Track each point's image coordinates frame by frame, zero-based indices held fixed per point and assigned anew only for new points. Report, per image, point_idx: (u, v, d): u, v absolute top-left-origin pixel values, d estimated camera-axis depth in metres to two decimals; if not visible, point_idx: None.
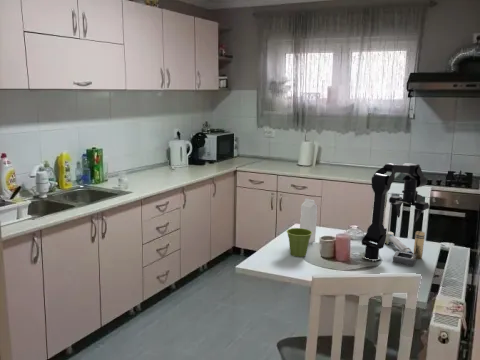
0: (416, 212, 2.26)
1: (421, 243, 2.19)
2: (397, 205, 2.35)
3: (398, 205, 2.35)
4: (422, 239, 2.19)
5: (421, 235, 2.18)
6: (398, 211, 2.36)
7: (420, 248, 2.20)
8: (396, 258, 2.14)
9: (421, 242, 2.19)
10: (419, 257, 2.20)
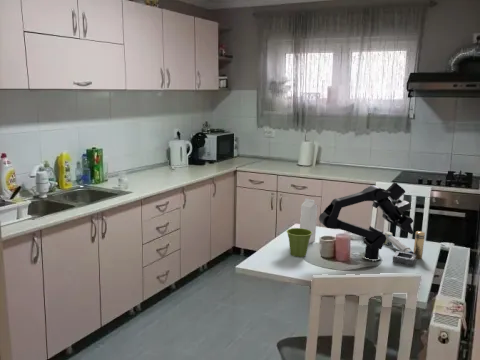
0: None
1: (421, 243, 2.19)
2: None
3: None
4: (422, 239, 2.19)
5: (421, 235, 2.18)
6: None
7: (420, 248, 2.20)
8: (396, 258, 2.14)
9: (421, 242, 2.19)
10: (419, 257, 2.20)
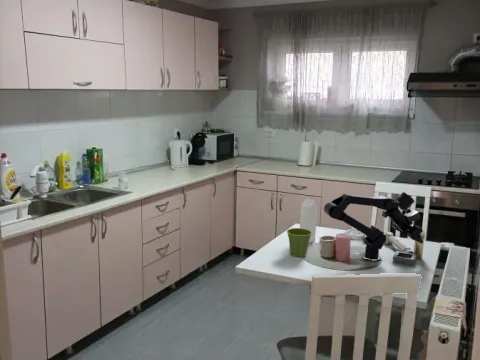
0: (413, 239, 2.13)
1: None
2: None
3: None
4: (422, 239, 2.19)
5: (421, 235, 2.18)
6: (406, 233, 2.24)
7: (420, 248, 2.20)
8: (396, 258, 2.14)
9: None
10: (419, 257, 2.20)
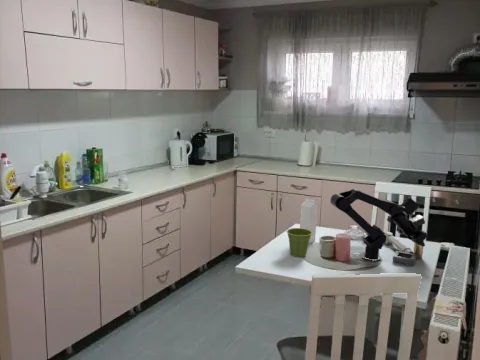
0: None
1: None
2: (408, 235, 2.22)
3: None
4: None
5: None
6: None
7: (420, 248, 2.20)
8: (396, 258, 2.14)
9: None
10: (419, 257, 2.20)
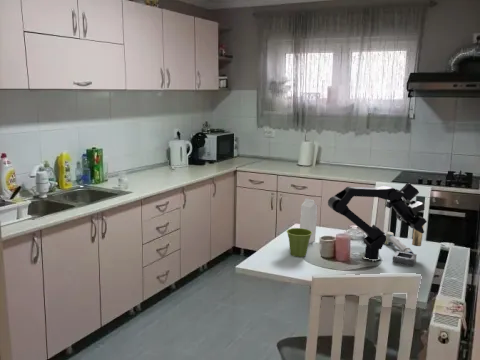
0: None
1: None
2: (408, 222, 2.20)
3: None
4: None
5: None
6: None
7: (419, 235, 2.17)
8: (396, 258, 2.14)
9: None
10: (418, 244, 2.18)
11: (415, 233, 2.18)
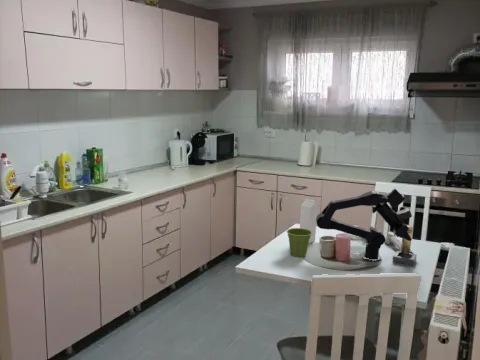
0: None
1: None
2: None
3: None
4: (409, 233, 2.12)
5: None
6: None
7: (407, 243, 2.13)
8: (396, 258, 2.14)
9: None
10: (405, 252, 2.14)
11: (403, 240, 2.14)
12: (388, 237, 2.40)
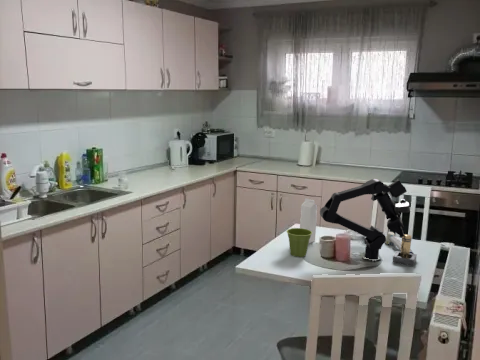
0: None
1: (406, 246, 2.13)
2: None
3: None
4: (407, 242, 2.13)
5: (406, 238, 2.13)
6: None
7: (406, 252, 2.14)
8: (396, 258, 2.14)
9: (406, 245, 2.13)
10: None
11: (401, 249, 2.15)
12: (388, 237, 2.40)
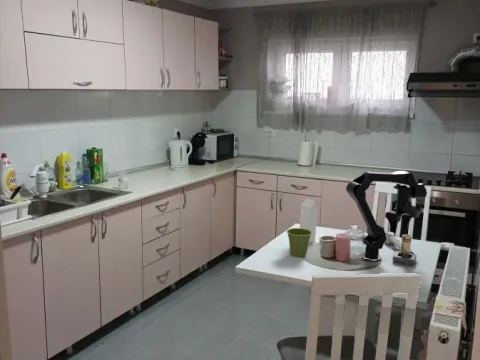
0: None
1: (406, 246, 2.13)
2: (404, 215, 2.22)
3: (405, 216, 2.22)
4: (407, 242, 2.13)
5: (406, 238, 2.13)
6: (404, 222, 2.22)
7: (406, 252, 2.14)
8: (396, 258, 2.14)
9: (406, 245, 2.13)
10: None
11: (401, 249, 2.15)
12: (388, 237, 2.40)
